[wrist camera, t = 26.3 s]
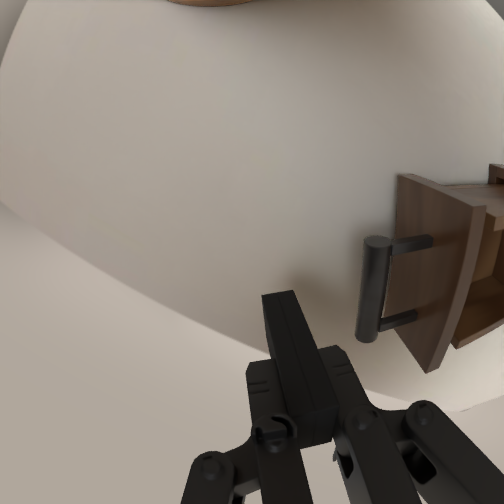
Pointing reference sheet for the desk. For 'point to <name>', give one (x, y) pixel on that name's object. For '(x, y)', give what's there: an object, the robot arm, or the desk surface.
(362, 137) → the desk surface
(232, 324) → the desk surface
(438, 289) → the drawer
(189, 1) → the pedestal
